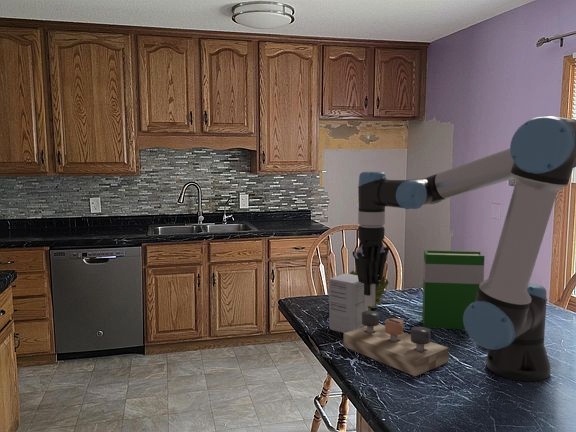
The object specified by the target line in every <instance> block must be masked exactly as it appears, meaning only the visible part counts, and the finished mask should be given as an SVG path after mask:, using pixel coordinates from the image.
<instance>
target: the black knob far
mask: <svg viewBox="0 0 576 432" xmlns="http://www.w3.org/2000/svg"><path fill="white" fill-rule="evenodd" d="M362 324H363V325H365V326H367V333H369V334H372V333H374V326H377V325H379V324H380V313H379V312H378V311H375V310H371V311H364V312H362Z"/></svg>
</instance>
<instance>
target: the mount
mask: <svg viewBox="0 0 576 432" xmlns="http://www.w3.org/2000/svg"><path fill="white" fill-rule="evenodd" d="M343 347H345V348H346V349H349V350H352V351H353V352H355V353H359V354H361V355H363V356H366V357H367V358H371V359H372V360H375V361H377V362H380V363H382V364H385V365H387V366H390V367H392V368H395V369H397V370H399V371H401V372H403V373H406V374H409V375H411V376H413V377H417V376H419V375H421V374H424V373H426V372H428V371H431V370H433V369H435V368H438V367H440V366H442V365H445V364H447V363H449V352H450V350H449V347H447V346H444V345H442V344H439V343H436V342H433V341H430V343H428V344H424V352H422V353H420V352H417V351H416V343H413V342H412V341H411V333H410V334H409V333H406V332H404V331H403V333H402V334H400V335H398V342H396V343H393V342H390V334H388V333H386V332H385V325H384V324H381V323H379V325H377V326H374V333H372V334H369V333H367V326H365V327H362V328H359V329H356V330H352V331H349V332H346V333H343Z"/></svg>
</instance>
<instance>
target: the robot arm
mask: <svg viewBox="0 0 576 432" xmlns="http://www.w3.org/2000/svg"><path fill="white" fill-rule="evenodd" d="M574 168H576V119H575V118H568V117H558V116H556V115H555V116H554V115H552V116H551V115H550V116H549V115H543V116H539V117H533V118H530V119H528V120H527V121H526V122H524V123H522V124H521V125H520V126H519V127H518V128H517V129H516V131H515V132H514V133H513V136H512V138H511V140H510V146H509V148H507V149H505V150H501V151H498V152H495V153H492V154H490V155H486V156H484V157H480V158H478V159H476V160H473V161H470V162H467V163H464V164H462V165H458V166H456V167H452V168H450V169H446V170H444V171H442V172H438V173H436V174H432V175H429V176H427V177H423V178H413V179H388V178H387V177H386V176H387V174H386V173H385V172H384V171H362V172H361V173H360V174H359V177H358V187H357V188H358V190H357V191H358V208H357V210H358V214H357V215H358V217H357V219H358V221H357V222H358V225H359V226H358V227H357V238H358V240H359V244H358V249H357V250H355V251H352V256H353V258H354V262H355V267H356V270H357V275H358V280H359V282H361V283H363V284H364V295H365V305H367V306H370V307H373V306H375V294H376V287H377V284H379V283H380V282H379V281H380V280H382V277H383V276H384V269H385V265H386V260H387V255H388V253H389V247H387V246H384V243H383V240H384V239H385V233H386V232H385V230H386V229H385V226H384V225H385V224H386V207H391V208H399V209H405V210H417V209H421V207H422V206H424V205H434V204H437V203H440V202H443V201H444V200H446V199H450V198H453V197H457V196H460V195H464V194H466V193H470V192H473V191H476V190H479V189H483V188H486V187H490V186H493V185H497V184H501V183H503V182H506V181H510V180H513V179H514V181H515V182H514V183H515V184H514V186H513V191H512V194H511V198H510V200H509V204H508V207H507V210H506V211H507V213H506V215H505V219H504V223H503V224H502V225H503V226H502V228H501V233H500V237H499V239H498V242H497V243H498V244H497V247H496V251H495V254H494V258H493V261H492V264H491V268H490V272H489V275H488V279H486V280H485V279H484V281H483V282H481V283H480V285H479V288H478V292H477V295H476V299H475V302H473V303H471V304H470V305H469V306H468V307H467V308H466V310H465V312H464V315H463V323H464V327H465V331H466V332H467V334H468V336H469V338H470V339H471V340H472V341H473V342H474V343H475V344H476V345H478V346H480V347H482V348H484V349H486V350H487V349H488V352H487V356H486V364H485V365H486V367H487V369H488V370H489V371H490V372H492V373H494V374H495V375H497V376H501V377H503V378H506V379H509V380H514V381H519V382H540V381H544V380H546V379H548V378H549V377H550V376H551V362H550V359H549V357H548V352H547V350H546V345H545V331H546V319H547V318H546V317H547V302H548V298H547V289H546V288H545V287H544V286H542V285H540V284H537V283H532V282H531V278H532V275H533V272H534V269H535V265H536V261H537V259H538V255H539V253H540V249H541V246H542V243H543V239H544V236H545V233H546V231H547V230H546V229H547V226H548V223H549V221H550V216H551V214H552V210H553V207H554V204H555V200H556V198H557V194H558V192H559V191H560V190H561V189H563V188H565V187H568V185H569V182H570V178H571V176H572V173H573V169H574ZM379 285H380V284H379Z"/></svg>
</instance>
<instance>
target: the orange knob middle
mask: <svg viewBox="0 0 576 432" xmlns="http://www.w3.org/2000/svg"><path fill="white" fill-rule="evenodd" d="M384 321H385V322H384V326H385V332H386V333H388V334H390V342H393V343H396V342H398V335H400V334H402V333H403V332H404V320H402V319H399V318H392V317H391V318H387V319H385V320H384Z"/></svg>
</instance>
